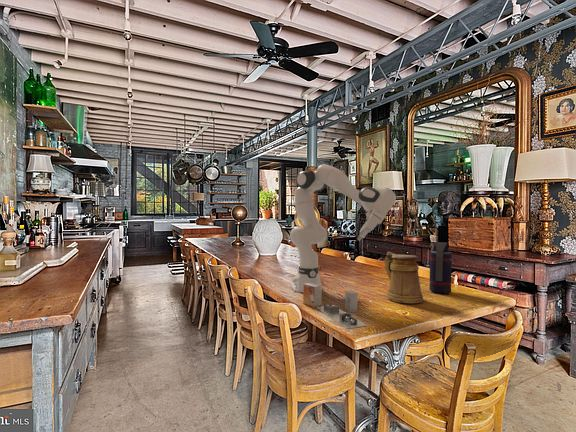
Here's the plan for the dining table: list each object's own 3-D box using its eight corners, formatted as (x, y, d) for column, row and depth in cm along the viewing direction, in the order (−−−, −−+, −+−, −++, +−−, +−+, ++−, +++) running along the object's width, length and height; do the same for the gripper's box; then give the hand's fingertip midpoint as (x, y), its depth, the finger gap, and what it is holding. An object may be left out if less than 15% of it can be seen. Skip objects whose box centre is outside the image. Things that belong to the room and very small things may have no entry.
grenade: (430, 288, 206) (431, 240, 205) (452, 291, 200) (453, 241, 199) (427, 293, 194) (428, 242, 193) (449, 296, 188) (451, 244, 187)
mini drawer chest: (344, 309, 164) (344, 291, 164) (352, 308, 166) (352, 290, 166) (349, 312, 160) (350, 293, 160) (357, 311, 161) (357, 292, 161)
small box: (303, 303, 173) (303, 283, 173) (310, 301, 177) (310, 282, 176) (314, 307, 167) (314, 286, 167) (321, 305, 171) (321, 284, 171)
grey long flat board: (315, 307, 166) (315, 301, 166) (333, 305, 170) (333, 299, 169) (346, 328, 138) (346, 320, 138) (367, 325, 142) (367, 317, 141)
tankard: (410, 306, 169) (411, 258, 168) (373, 296, 188) (374, 252, 187) (429, 301, 179) (430, 255, 179) (393, 291, 198) (393, 250, 198)
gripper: (365, 216, 179) (351, 237, 177) (373, 208, 159) (358, 232, 157) (375, 223, 178) (361, 244, 177) (385, 216, 158) (369, 239, 157)
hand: (360, 238), depth 167 cm, fingers open, 8 cm apart
